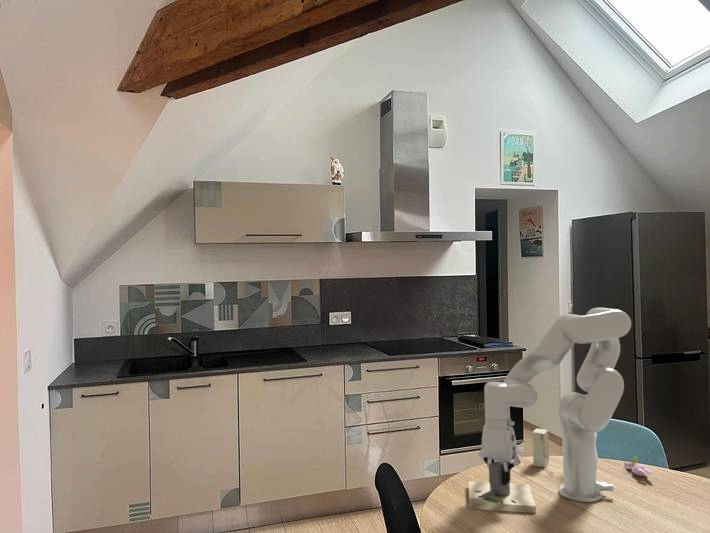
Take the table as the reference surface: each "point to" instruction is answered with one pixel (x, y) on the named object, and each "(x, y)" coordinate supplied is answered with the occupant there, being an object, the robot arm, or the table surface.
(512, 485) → the dial board
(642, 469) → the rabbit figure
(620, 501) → the table surface
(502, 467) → the knob
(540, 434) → the skincare box
